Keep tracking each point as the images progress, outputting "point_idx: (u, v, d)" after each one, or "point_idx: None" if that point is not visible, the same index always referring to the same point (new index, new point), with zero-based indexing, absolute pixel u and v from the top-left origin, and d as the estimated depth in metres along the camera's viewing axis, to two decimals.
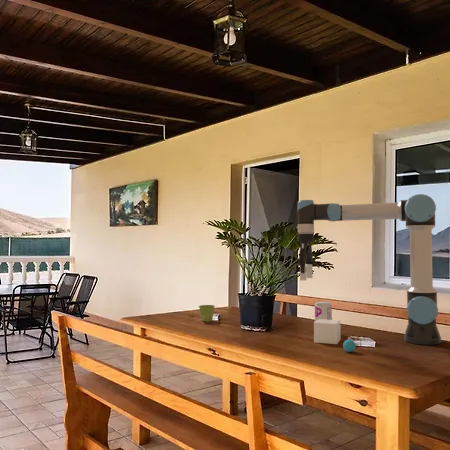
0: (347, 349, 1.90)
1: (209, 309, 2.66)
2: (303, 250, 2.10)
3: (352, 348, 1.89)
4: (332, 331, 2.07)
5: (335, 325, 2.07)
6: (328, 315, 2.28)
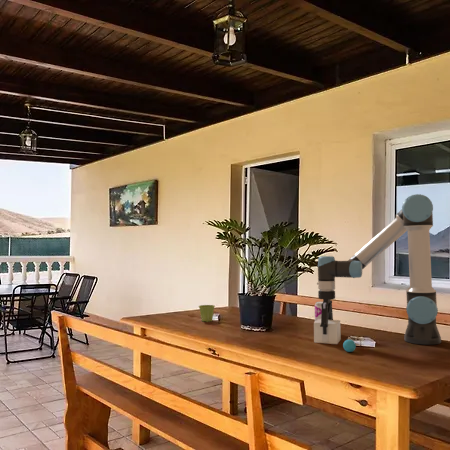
0: (347, 349, 1.90)
1: (209, 309, 2.66)
2: (325, 311, 2.07)
3: (352, 348, 1.89)
4: (332, 331, 2.07)
5: (335, 325, 2.07)
6: None
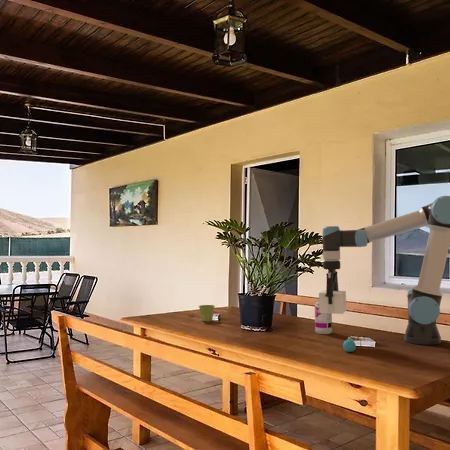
0: (347, 349, 1.90)
1: (209, 309, 2.66)
2: (330, 280, 2.04)
3: (352, 348, 1.89)
4: (338, 300, 2.05)
5: (340, 295, 2.04)
6: (328, 315, 2.28)
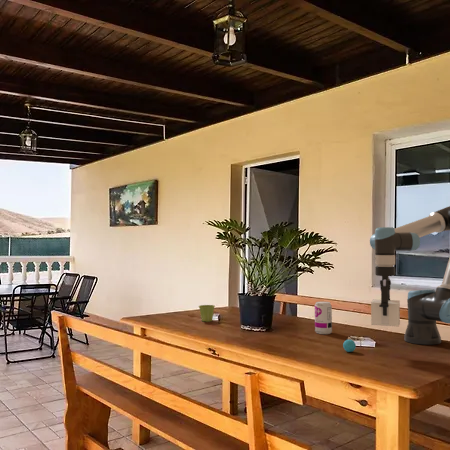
0: (347, 349, 1.90)
1: (209, 309, 2.66)
2: (385, 288, 1.80)
3: (352, 348, 1.89)
4: (393, 311, 1.81)
5: (397, 305, 1.80)
6: (328, 315, 2.28)
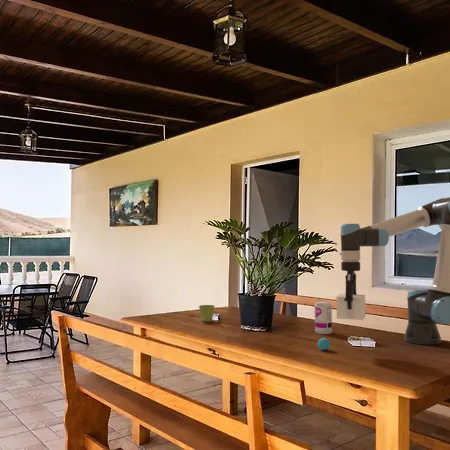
0: (321, 342, 1.94)
1: (209, 309, 2.66)
2: (349, 283, 1.85)
3: (319, 346, 1.94)
4: (358, 305, 1.86)
5: (361, 299, 1.85)
6: (328, 315, 2.28)
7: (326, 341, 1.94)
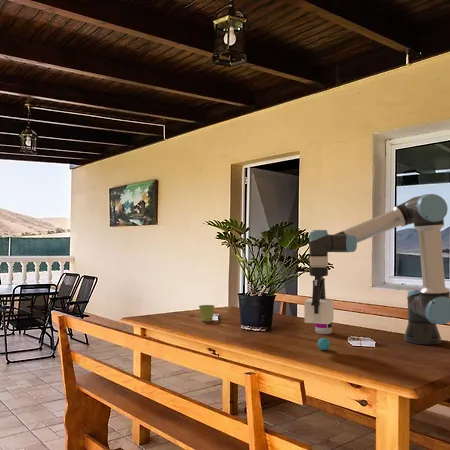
0: (321, 342, 1.94)
1: (209, 309, 2.66)
2: (316, 288, 1.90)
3: (319, 346, 1.94)
4: (324, 310, 1.91)
5: (327, 304, 1.90)
6: None
7: (326, 341, 1.94)
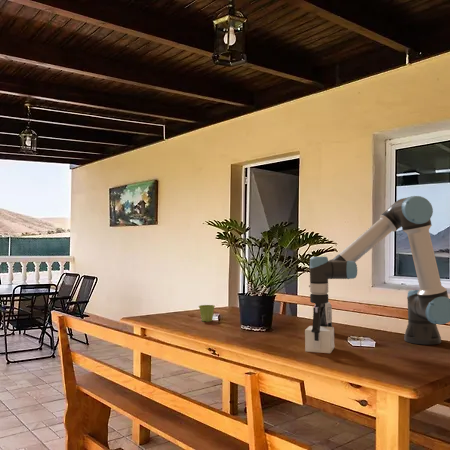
0: None
1: (209, 309, 2.66)
2: (317, 315, 1.90)
3: None
4: (325, 339, 1.90)
5: (328, 333, 1.90)
6: (328, 315, 2.28)
7: None
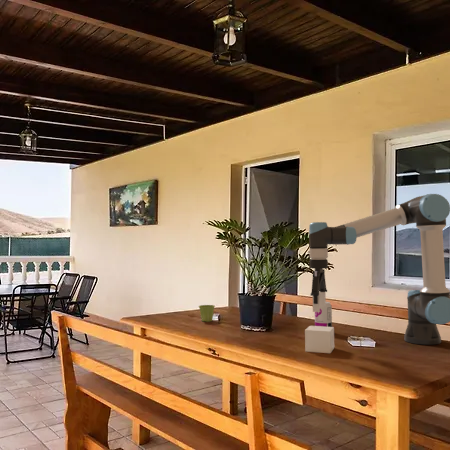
0: None
1: (209, 309, 2.66)
2: (316, 278, 1.90)
3: None
4: (325, 339, 1.90)
5: (328, 333, 1.90)
6: (328, 315, 2.28)
7: None
